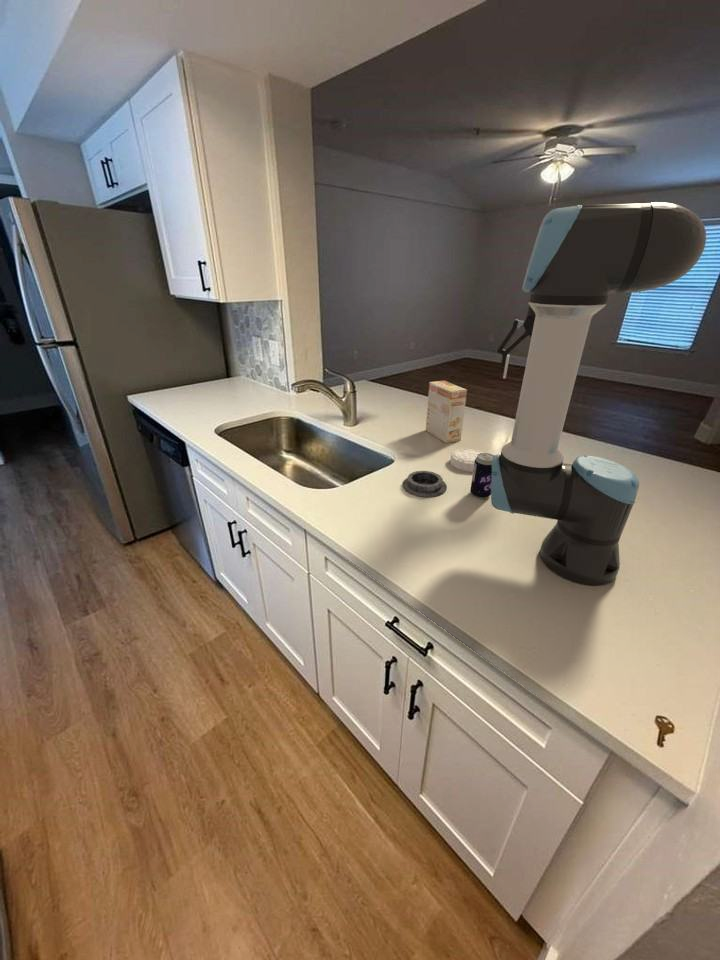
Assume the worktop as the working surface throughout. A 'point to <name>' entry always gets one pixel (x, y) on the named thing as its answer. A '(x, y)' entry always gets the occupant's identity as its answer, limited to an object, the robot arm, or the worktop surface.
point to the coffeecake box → (445, 410)
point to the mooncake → (464, 459)
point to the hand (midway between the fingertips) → (528, 379)
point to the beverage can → (482, 476)
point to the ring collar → (424, 484)
